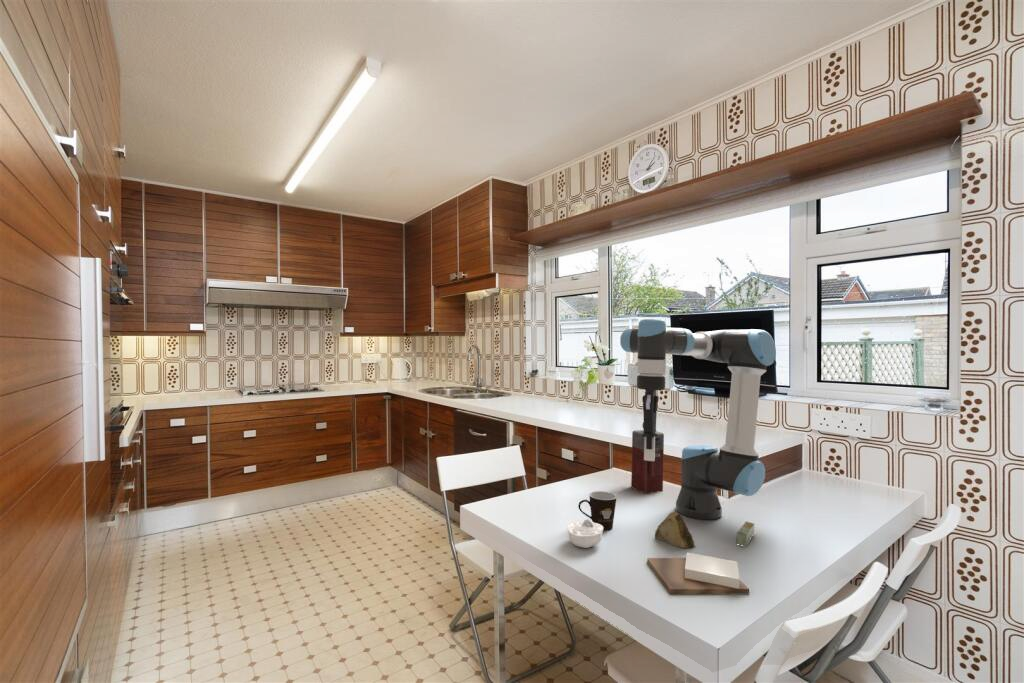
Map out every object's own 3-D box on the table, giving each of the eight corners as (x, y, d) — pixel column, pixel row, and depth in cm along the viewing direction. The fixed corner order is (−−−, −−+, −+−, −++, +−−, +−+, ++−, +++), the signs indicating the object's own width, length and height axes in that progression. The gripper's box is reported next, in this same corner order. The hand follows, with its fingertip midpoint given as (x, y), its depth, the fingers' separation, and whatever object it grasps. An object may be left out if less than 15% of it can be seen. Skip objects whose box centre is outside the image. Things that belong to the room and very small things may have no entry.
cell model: (558, 546, 135) (558, 522, 135) (581, 534, 144) (582, 512, 144) (588, 557, 128) (589, 532, 128) (610, 544, 137) (611, 520, 137)
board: (716, 562, 127) (716, 557, 127) (749, 593, 111) (749, 588, 111) (647, 562, 126) (647, 557, 126) (670, 594, 110) (670, 589, 110)
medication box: (746, 548, 137) (746, 534, 137) (735, 545, 138) (736, 531, 138) (754, 535, 146) (754, 522, 146) (744, 533, 148) (745, 520, 148)
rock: (644, 529, 143) (663, 538, 133) (658, 504, 145) (677, 511, 135) (670, 549, 144) (690, 559, 134) (683, 524, 146) (704, 532, 137)
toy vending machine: (649, 495, 183) (651, 423, 183) (630, 487, 193) (632, 419, 193) (667, 492, 187) (668, 422, 187) (647, 484, 197) (649, 418, 197)
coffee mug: (616, 523, 153) (617, 492, 153) (615, 533, 144) (615, 501, 145) (580, 519, 156) (581, 489, 156) (577, 528, 148) (578, 497, 148)
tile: (684, 568, 115) (739, 579, 110) (686, 552, 124) (737, 561, 119) (684, 578, 115) (739, 589, 110) (686, 561, 124) (736, 571, 119)
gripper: (640, 373, 137) (638, 453, 137) (633, 375, 125) (631, 463, 125) (667, 374, 135) (665, 456, 134) (663, 376, 123) (661, 467, 122)
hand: (649, 460), depth 130 cm, fingers closed
